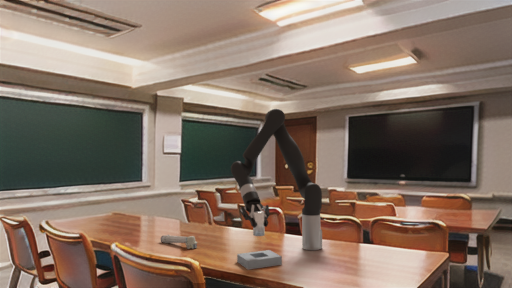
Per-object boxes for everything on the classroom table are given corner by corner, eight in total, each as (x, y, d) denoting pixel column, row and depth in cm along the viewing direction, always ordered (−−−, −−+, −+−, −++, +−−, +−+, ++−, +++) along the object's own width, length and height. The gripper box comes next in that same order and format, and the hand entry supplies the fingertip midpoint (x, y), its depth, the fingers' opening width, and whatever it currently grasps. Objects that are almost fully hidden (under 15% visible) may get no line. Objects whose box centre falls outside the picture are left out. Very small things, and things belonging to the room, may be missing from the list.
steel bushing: (261, 233, 159) (261, 210, 159) (266, 235, 154) (266, 212, 155) (251, 234, 157) (251, 211, 157) (256, 236, 152) (256, 213, 153)
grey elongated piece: (166, 234, 198) (198, 233, 183) (167, 246, 197) (199, 246, 182) (159, 236, 194) (191, 235, 179) (160, 248, 193) (192, 249, 178)
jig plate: (269, 257, 164) (269, 249, 164) (281, 264, 153) (281, 256, 153) (237, 261, 157) (237, 253, 157) (247, 269, 146) (247, 261, 146)
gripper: (237, 191, 160) (248, 222, 149) (266, 190, 166) (278, 219, 155) (233, 201, 165) (243, 232, 153) (261, 200, 171) (272, 229, 159)
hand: (260, 226), depth 154 cm, fingers closed on steel bushing, 5 cm apart
